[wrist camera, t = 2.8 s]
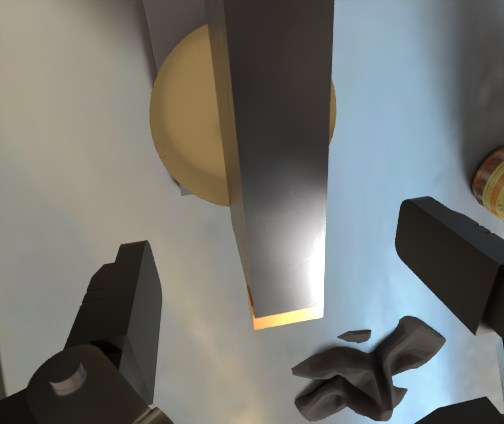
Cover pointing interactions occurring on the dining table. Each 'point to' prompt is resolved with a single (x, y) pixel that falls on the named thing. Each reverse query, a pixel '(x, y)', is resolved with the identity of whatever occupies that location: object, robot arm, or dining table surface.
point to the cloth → (366, 372)
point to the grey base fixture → (172, 28)
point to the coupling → (257, 140)
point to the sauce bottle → (491, 183)
